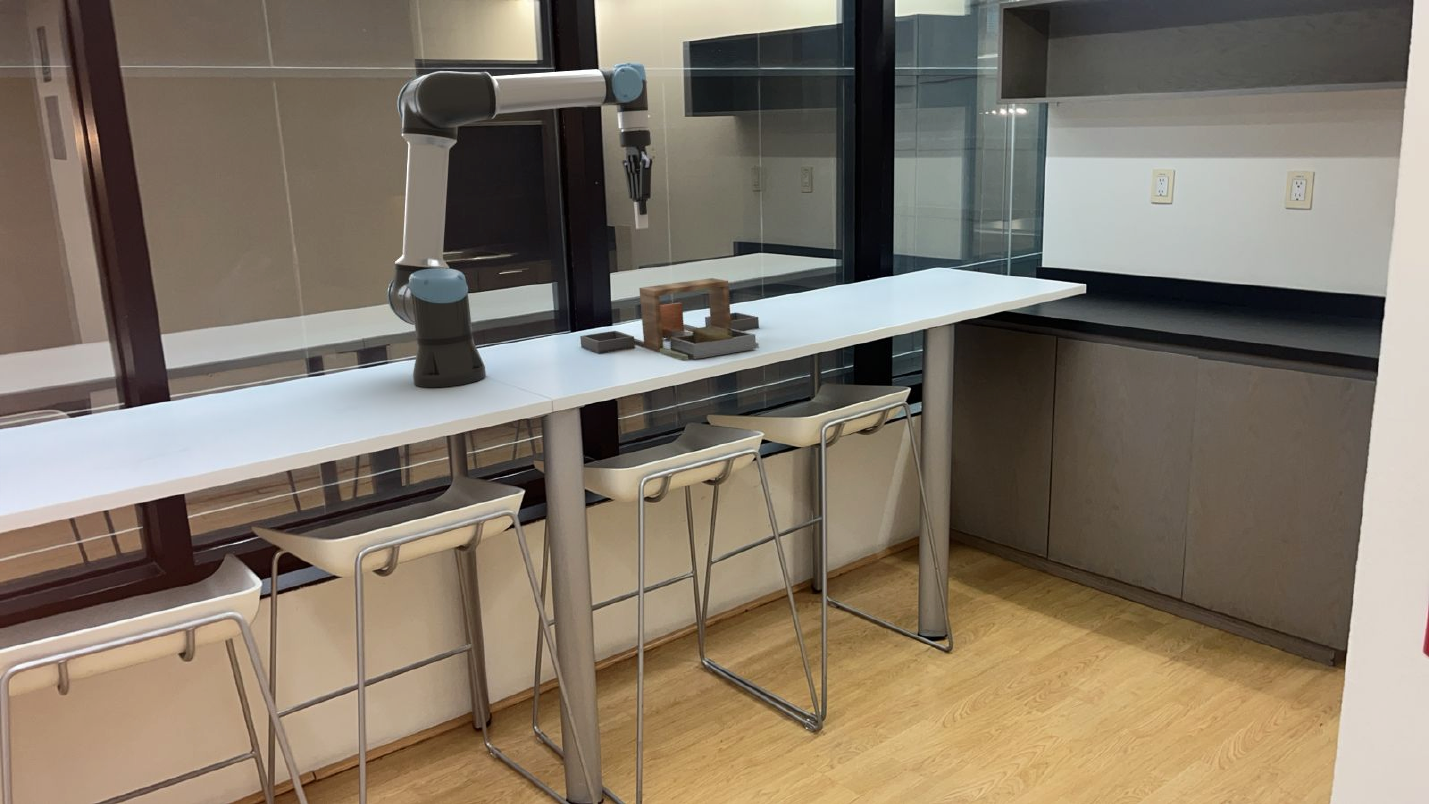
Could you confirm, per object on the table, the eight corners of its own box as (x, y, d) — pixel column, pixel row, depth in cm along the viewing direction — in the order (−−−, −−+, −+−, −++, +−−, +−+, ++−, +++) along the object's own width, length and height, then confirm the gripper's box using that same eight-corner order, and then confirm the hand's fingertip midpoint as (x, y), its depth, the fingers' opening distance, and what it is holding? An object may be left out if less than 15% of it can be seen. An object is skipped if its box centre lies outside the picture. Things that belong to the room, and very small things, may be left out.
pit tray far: (726, 333, 261) (726, 322, 260) (705, 327, 270) (704, 317, 270) (758, 328, 265) (758, 317, 264) (737, 323, 275) (736, 312, 274)
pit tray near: (598, 353, 246) (597, 342, 245) (581, 347, 255) (580, 335, 255) (634, 348, 250) (633, 336, 249) (616, 341, 259) (615, 330, 259)
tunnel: (683, 360, 232) (678, 296, 228) (616, 338, 264) (611, 282, 260) (758, 347, 240) (755, 285, 237) (685, 328, 272) (681, 273, 269)
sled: (694, 359, 231) (691, 322, 229) (638, 341, 256) (635, 308, 254) (756, 348, 238) (754, 313, 236) (695, 332, 263) (693, 300, 261)
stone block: (714, 345, 245) (713, 324, 244) (736, 353, 235) (734, 331, 234) (691, 348, 243) (690, 327, 242) (712, 356, 233) (710, 334, 232)
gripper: (659, 127, 252) (667, 227, 258) (637, 130, 264) (645, 225, 269) (631, 129, 249) (639, 230, 255) (609, 131, 260) (618, 228, 266)
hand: (642, 228), depth 262 cm, fingers closed
